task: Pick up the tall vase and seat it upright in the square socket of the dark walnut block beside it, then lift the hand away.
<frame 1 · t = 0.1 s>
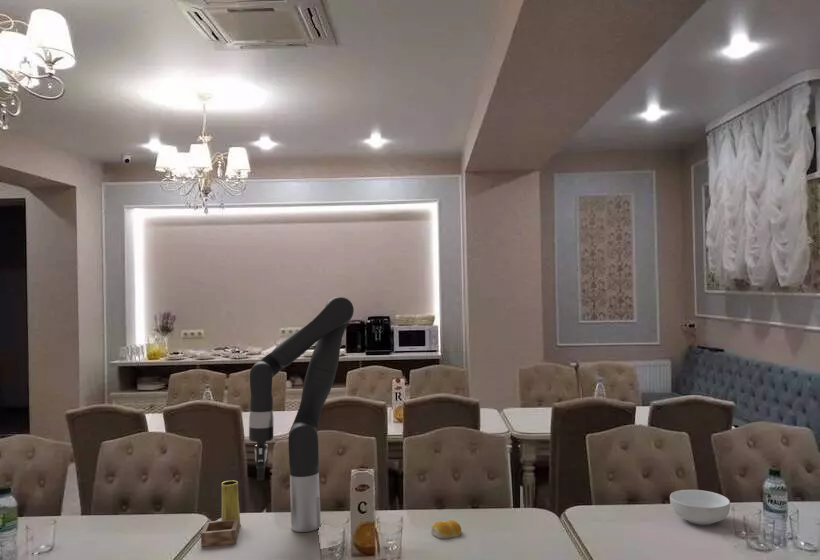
hand: (261, 476, 201), 17 cm above the table, tool pointing down, fingers open, 8 cm apart
bread roll: (446, 535, 194), on the table
vase: (230, 527, 206), on the table
socket block: (220, 539, 196), on the table
cereal bowl: (700, 521, 197), on the table
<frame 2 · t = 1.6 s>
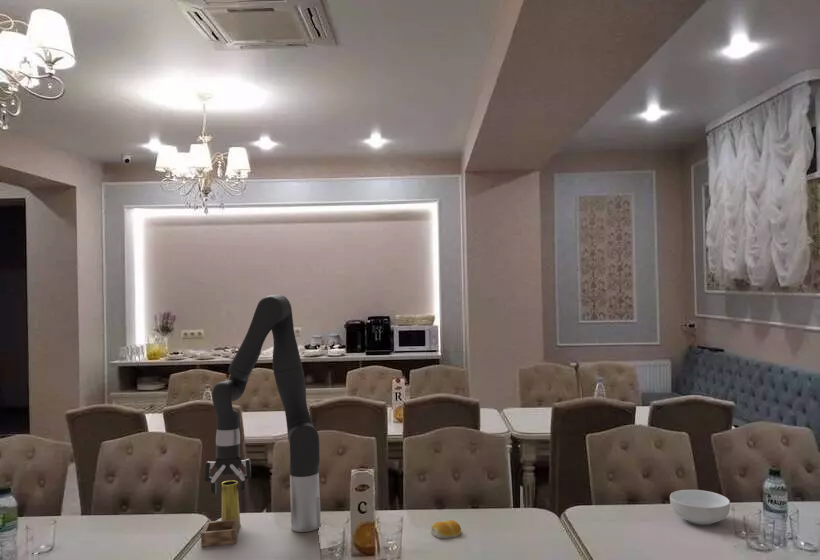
hand: (228, 492, 206), 11 cm above the table, tool pointing down, fingers open, 8 cm apart
nothing on the table moved.
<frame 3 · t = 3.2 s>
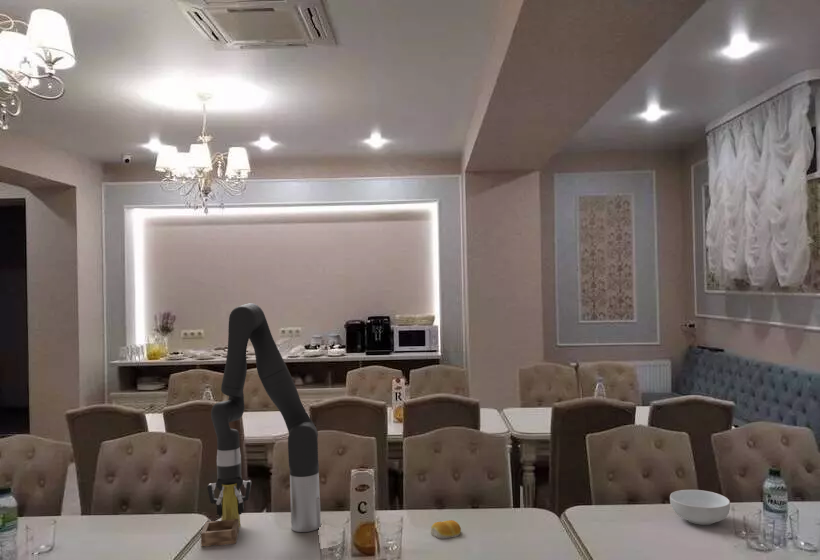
hand: (230, 514, 206), 4 cm above the table, tool pointing down, fingers closed on vase, 5 cm apart
vase: (230, 527, 206), on the table, touching gripper
everything else where it was.
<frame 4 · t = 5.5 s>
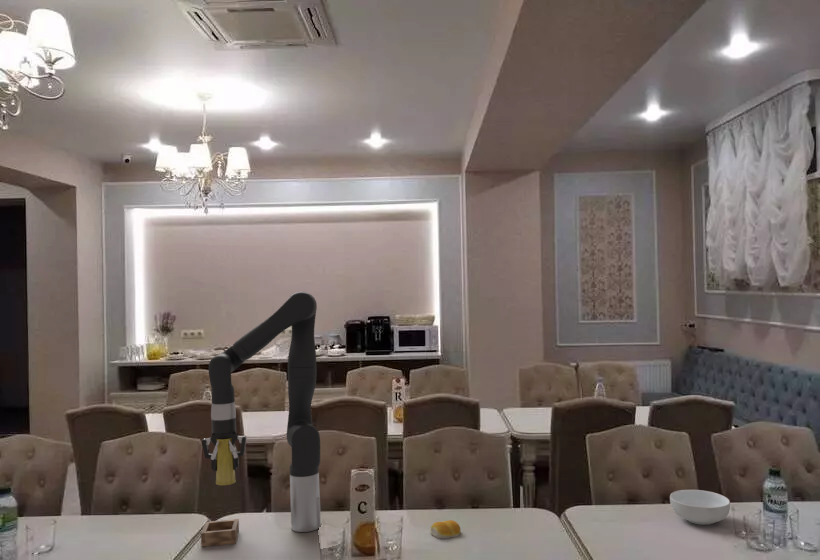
hand: (225, 469, 202), 19 cm above the table, tool pointing down, fingers closed on vase, 5 cm apart
vase: (225, 483, 202), point 15 cm above the table, touching gripper
everything else where it was.
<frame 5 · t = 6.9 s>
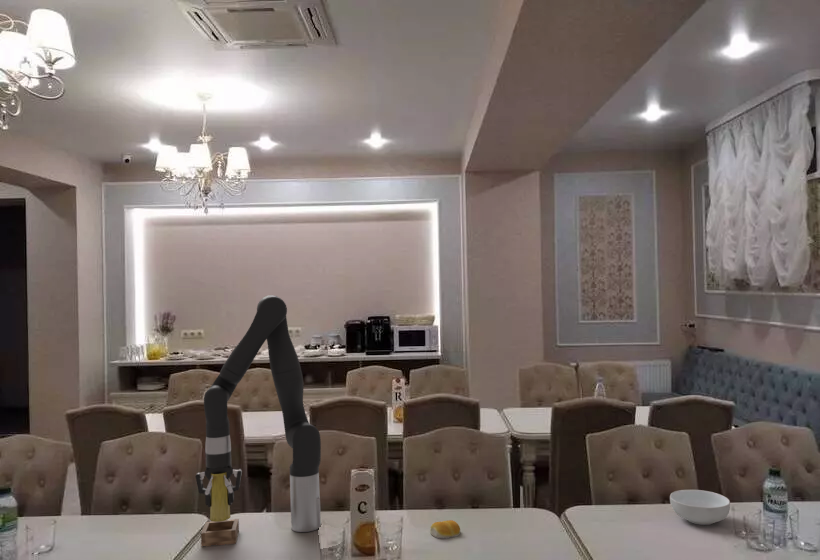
hand: (219, 505, 196), 10 cm above the table, tool pointing down, fingers closed on vase, 5 cm apart
vase: (220, 519, 196), point 6 cm above the table, touching gripper
everything else where it was.
when the fingers open (6 cm above the table, at t = 8.2 s): vase drops 1 cm, resting on socket block.
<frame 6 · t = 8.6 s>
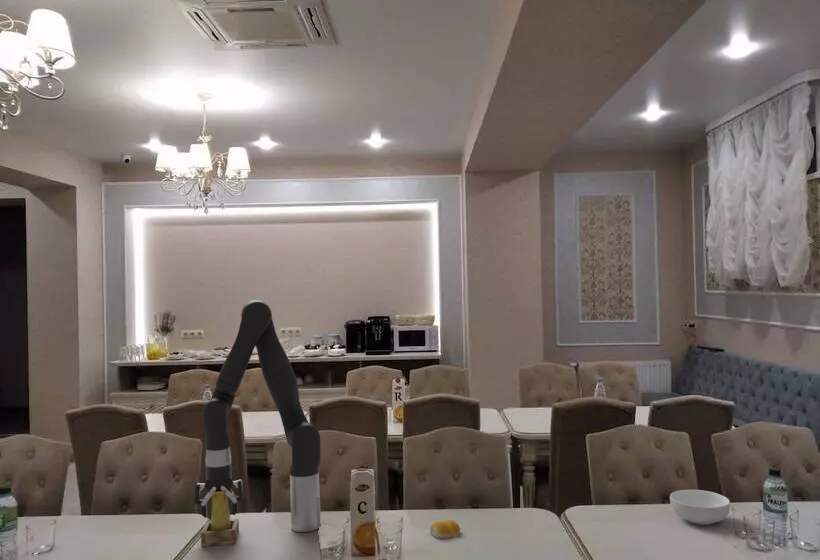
hand: (220, 515, 196), 7 cm above the table, tool pointing down, fingers open, 8 cm apart
vase: (221, 536, 196), point 1 cm above the table, touching socket block
everything else where it was.
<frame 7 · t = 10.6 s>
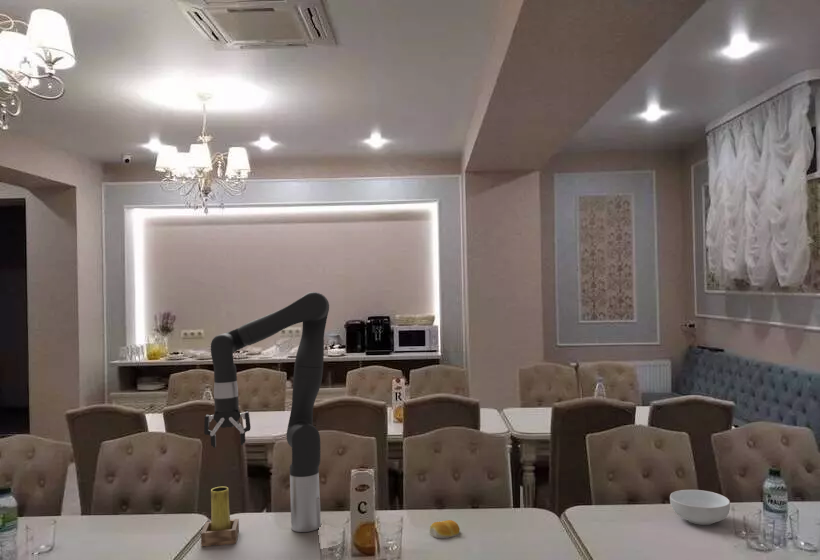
hand: (228, 445, 205), 26 cm above the table, tool pointing down, fingers open, 8 cm apart
nothing on the table moved.
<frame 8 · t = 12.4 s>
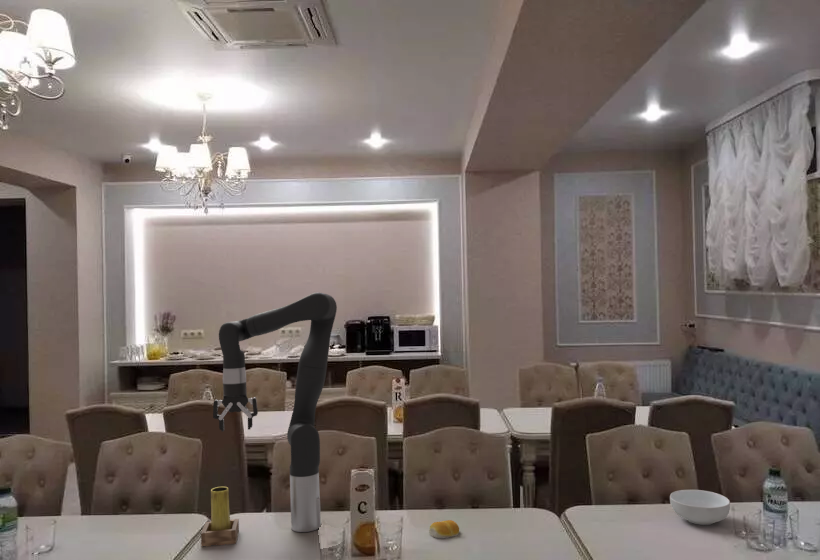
hand: (236, 430, 212), 30 cm above the table, tool pointing down, fingers open, 8 cm apart
nothing on the table moved.
at the end: vase 0.1 cm off-centre on the socket block, point 0.8 cm above the socket block's base; vase tilted 0°; the gripper is holding nothing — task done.
